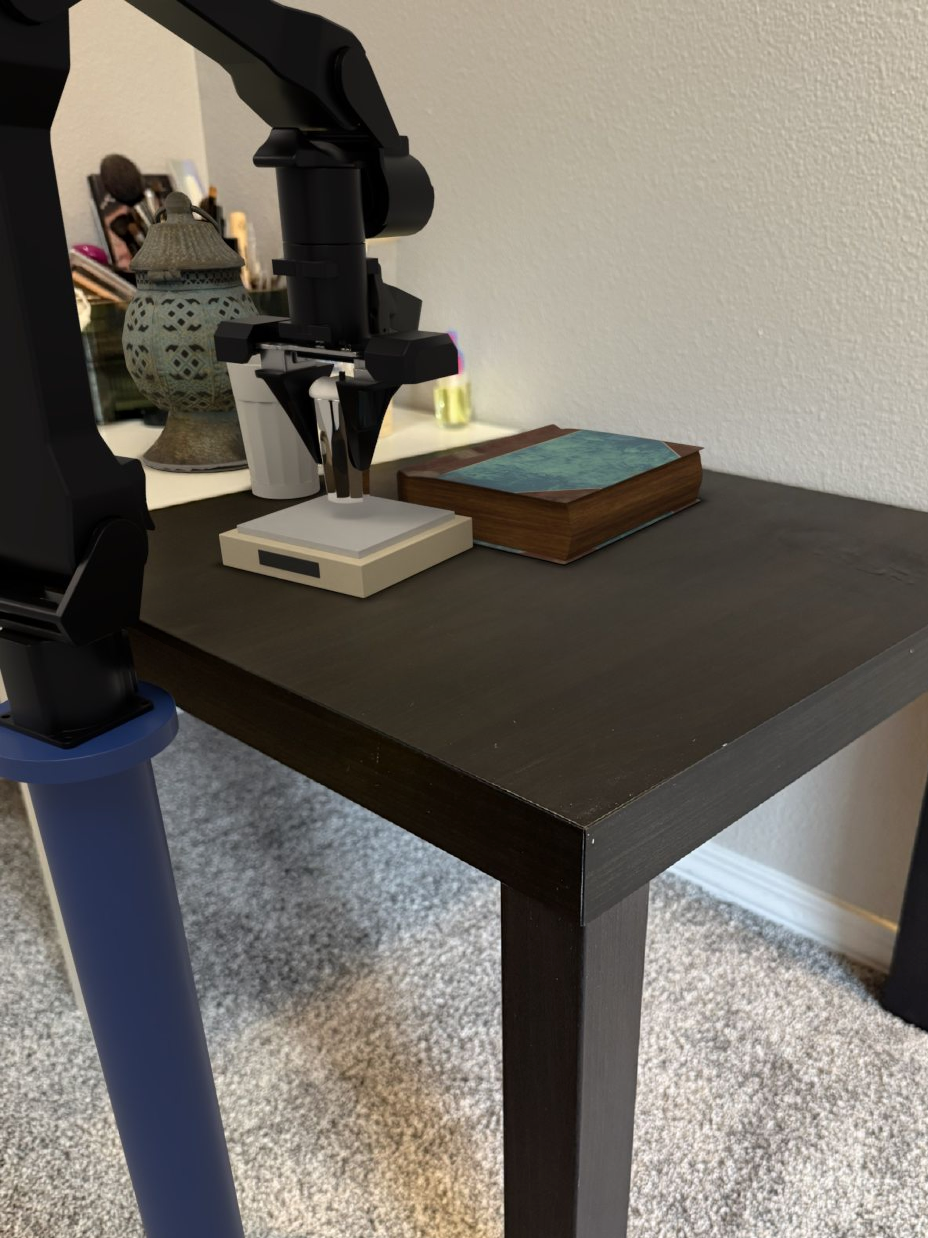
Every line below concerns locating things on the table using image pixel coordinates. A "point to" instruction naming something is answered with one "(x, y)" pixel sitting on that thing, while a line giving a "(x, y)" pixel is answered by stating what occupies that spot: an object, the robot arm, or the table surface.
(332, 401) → the milkshake
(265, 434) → the cup
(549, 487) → the book
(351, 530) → the scale
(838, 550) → the table surface
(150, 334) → the lantern
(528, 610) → the table surface
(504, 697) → the table surface
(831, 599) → the table surface
